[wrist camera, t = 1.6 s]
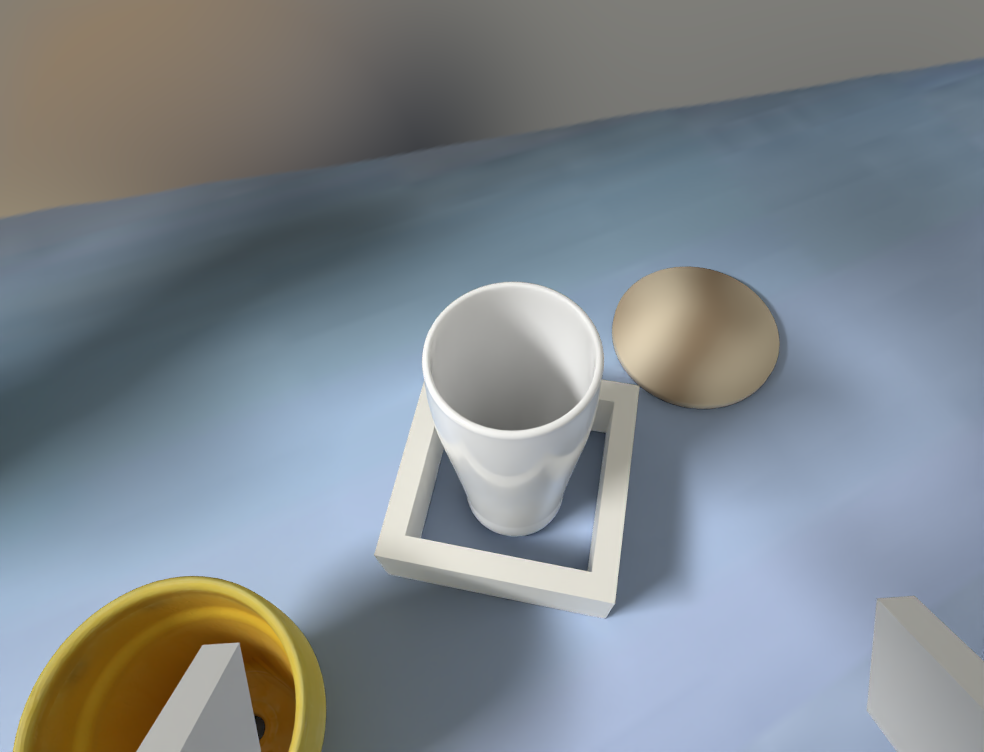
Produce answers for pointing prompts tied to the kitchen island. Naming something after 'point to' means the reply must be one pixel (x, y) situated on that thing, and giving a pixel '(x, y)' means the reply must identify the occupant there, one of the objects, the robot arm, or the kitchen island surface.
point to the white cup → (513, 398)
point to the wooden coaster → (695, 337)
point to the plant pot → (172, 669)
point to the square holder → (504, 573)
